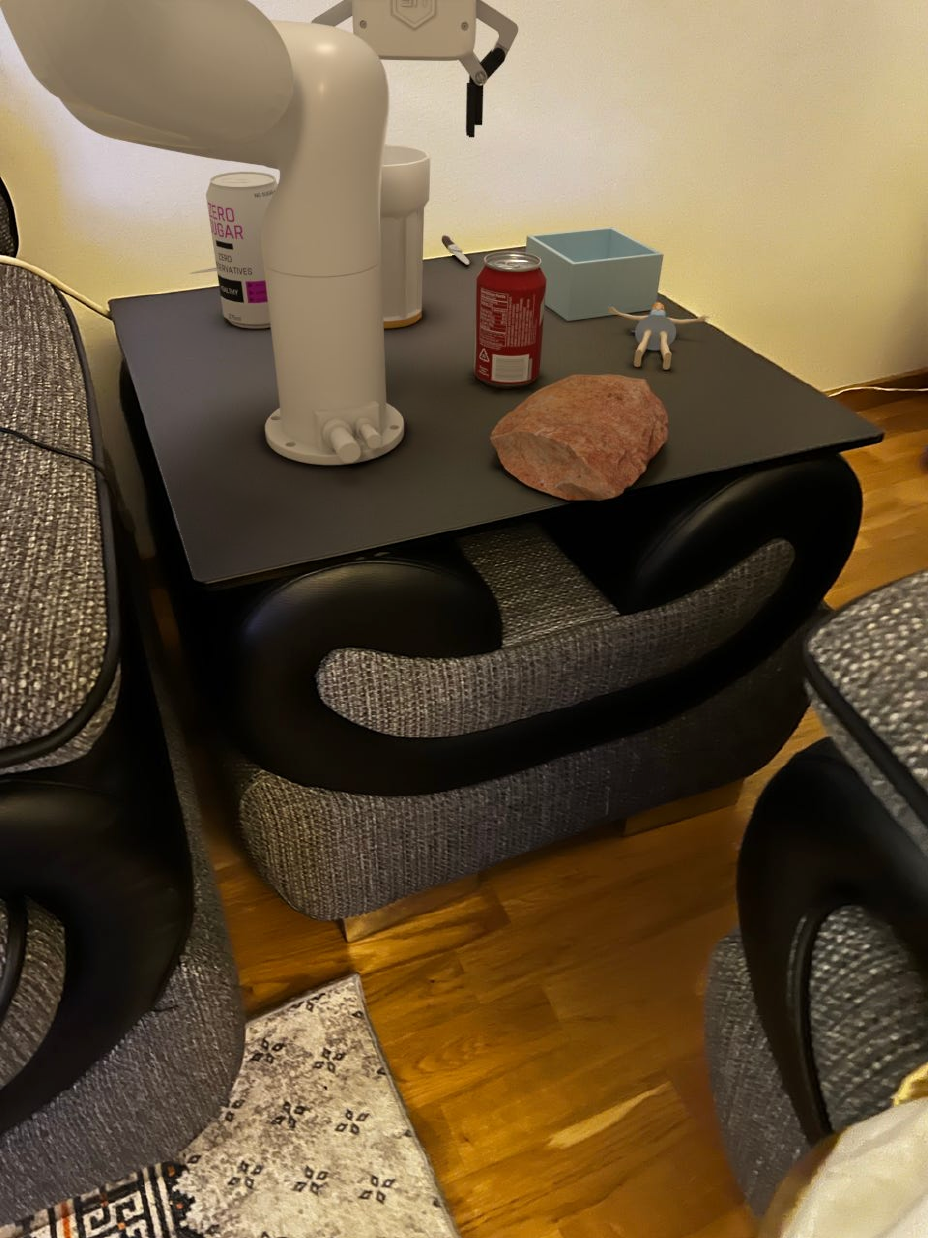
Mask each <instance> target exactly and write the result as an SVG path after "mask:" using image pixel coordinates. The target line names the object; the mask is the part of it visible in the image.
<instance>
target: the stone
mask: <svg viewBox="0 0 928 1238" xmlns="http://www.w3.org/2000/svg"><path fill="white" fill-rule="evenodd" d="M668 425H669V416H668V413H667V411H666V409H665V406H664V404H663V402H662V401H661V399H660V398H659V397H658V396H657V395H655V392H654V391H653V389H652V387H651V386H650V385H649V382H648V381H647V379H645V378H636V377H629V376H624V375H622V374H610V373H605V374H596V375H594V374H572V375H569V376H567V377H565V378H563V379H560V380H557V381H555V382H553V383H551V384H549V385H546V386H544V387H541V388H540V389H538V390H536V391H535V392H534V393H532V394H530V395H529V396H528V397H526V398H525V399H524V400H523V401H522V402H520V404H519V405H518V406H516V408H515V409H514V410H513V411H509V412H507V413H506V414H505V416H503V417H502V418H501V419H500V420H499V421H497V424H496V425H495V427H494V428H493V430H492V431H491V435H490V436H489V441H490V443H491V444H492V446H493V448H494V449H495V451H496V453H497V457H498V459H499V461H500V464H501V465H503V468H504V469H505V470H506V471H507V472H508V473H510V474H511V475H512V476H514V477H515V478H517V479H518V481H520V482H521V483H523V484H524V485H526V486H528V487H530V488H533V489H536V490H537V491H539V492H542V493H546V494H549V495H551V496H553V497H556V498H559V499H563V500H566V501H597V502H601V501H606V500H610V499H614V498H617V497H619V496H620V495H622V494H623V493H624V491H625V489H627V488H629V487H632V486H634V483H636V481H637V480H638V479H639V478H640V476H641V475H642V474H643V473H645V472H646V470H647V466H648V464H649V462H650V460H651V459H653V458H654V457H655V456H656V455H657V453H658V452H659V451H660V449H661V447H662V446H663V445H664V444H665V443H666V442H667V441H668V435H669V430H668Z"/></svg>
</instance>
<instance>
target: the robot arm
mask: <svg viewBox="0 0 928 1238" xmlns="http://www.w3.org/2000/svg"><path fill="white" fill-rule="evenodd" d="M0 10H1V13H2V15H3V18H4V20H5V23H6V24H7V26H8V29H9V31H10V33H11V35H12V38H13V40H14V41H15V44H16V46H17V48H18V50H19V52H20V54H21V56H22V58H23V60H24V62H25V64H26V66H27V68H28V69H29V71H30V73H31V74H32V75H33V77H34V78H35V79H36V81H37V82H38V83H39V84H40V85H41V86H43V88H44V89H45V90H46V91H48V92H49V93H50V94H52V95H53V96H55V97H56V98H58V99H59V101H60V102H61V104H62V105H63V106H64V108H65V109H66V110H67V111H68V112H69V113H70V114H71V116H73V117H74V119H76V120H77V121H78V122H79V123H81V124H82V125H83V126H84V127H86V128H88V130H91V131H92V132H94V133H96V134H98V135H101V136H103V137H105V138H109V139H113V140H118V141H123V142H127V143H132V144H137V145H141V146H145V147H151V148H156V149H161V150H165V151H170V152H175V153H181V154H186V155H192V156H196V157H200V158H201V157H202V158H206V159H213V160H219V161H227V162H235V163H241V164H249V165H255V166H262V167H265V168H268V169H273V170H278V171H279V178H278V182H277V184H278V185H277V187H276V190H275V192H274V194H273V196H272V198H271V200H270V202H269V204H268V206H267V209H266V211H265V214H264V217H263V221H262V227H261V248H262V257H263V263H264V272H265V281H266V290H267V298H268V307H269V316H270V325H271V327H270V332H271V342H272V350H273V359H274V367H275V376H276V383H277V384H276V387H277V394H278V402H279V403H278V404H279V408H277V409H276V410H274V411H273V412H272V413H271V414H270V415H269V417H268V418H266V421H265V423H264V432H265V433H264V435H265V440H266V443H267V444H268V445H269V447H270V448H271V449H272V451H274V452H275V453H277V454H279V455H280V456H282V457H284V458H287V459H288V460H292V461H295V462H299V463H303V464H309V465H317V466H345V465H352V464H358V463H363V462H367V461H370V460H373V459H376V458H380V457H382V456H383V455H385V454H387V453H389V452H391V451H392V450H393V449H395V448H396V447H397V446H398V445H400V443H401V442H402V440H403V438H404V436H405V420H404V417H403V415H402V414H401V412H400V411H399V410H397V409H396V408H395V406H392V405H390V403H388V402H387V390H386V389H387V387H386V386H387V385H386V357H385V356H386V355H385V353H386V352H385V329H384V325H383V297H382V269H381V241H380V188H381V174H382V164H383V156H384V148H385V144H386V141H387V140H386V139H387V133H388V126H389V118H390V86H389V79H388V76H387V72H386V69H385V67H384V64H383V62H382V61H418V62H419V61H421V62H422V61H426V62H427V61H428V62H429V61H430V62H432V61H433V62H453V61H454V62H455V61H459V62H460V64H461V66H462V67H463V68H464V70H465V71H466V73H467V74H468V82H466V97H465V98H466V99H465V100H466V101H465V134H466V137H468V138H475V136H476V135H475V133H476V132H475V129H476V126H483V122H484V121H483V117H484V116H483V115H484V85H486V83H487V82H488V80H489V79H490V78H491V77H492V76H493V75H494V74H495V72H496V71H497V70H498V69H499V68H500V67H501V66H502V64H504V63H505V60H506V57H507V55H508V53H509V52H510V50H511V47H512V45H513V44H514V41H515V39H516V38H517V35H518V33H519V26H518V24H517V23H516V22H515V21H514V20H512V19H511V18H509V17H508V16H506V15H505V14H503V13H502V12H500V11H499V10H497V9H496V8H494V7H493V6H491V5H490V4H488V3H486V2H485V1H483V0H342V1H340V2H338V3H337V4H336V5H333V6H332V7H331V8H329V9H327V10H325V11H324V12H323V13H321V14H319V15H318V16H316V17H314V18H313V19H312V20H311V22H303V21H289V20H274V19H270V18H268V17H267V15H265V14H264V12H262V10H260V9H259V8H258V6H256V5H255V4H254V3H253V2H251V1H249V0H0ZM350 18H352V32H351V31H348V30H345V29H343V28H339V27H337V26H338V25H340V24H341V23H343V22H344V21H346V20H348V19H350ZM477 20H479V21H480V22H482V23H484V24H485V25H486V26H488V27H490V28H491V29H493V30H494V31H496V32H497V38H496V40H495V42H494V44H493V46H492V48H491V50H489V52H488V53H487V54H486V55H485V56H484V58H482V60H480V59H479V58H478V56H477V55H476V53H475V52H474V50H475V46H476V38H477Z"/></svg>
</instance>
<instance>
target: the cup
mask: <svg viewBox="0 0 928 1238" xmlns="http://www.w3.org/2000/svg"><path fill="white" fill-rule="evenodd" d="M430 185H431V155H430V153H429V152H428V151H426V150H425V149H422V148H419V147H414V146H410V145H404V144H403V145H401V144H400V145H399V144H391V143H385V148H384V156H383V164H382V174H381V188H380V241H381V269H382V297H383V325H384V330H387V329H389V330H390V329H398V328H403V327H404V328H405V327H407V326H411V325H412V324H415V323H416V322H419V320H420V319H421V318H422V316H423V315H422V313H423V274H424V273H423V272H424V270H423V269H424V229H425V228H424V227H425V225H424V224H425V208H426V206H427V204H428V203H429V202H430V192H431V191H430Z"/></svg>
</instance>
